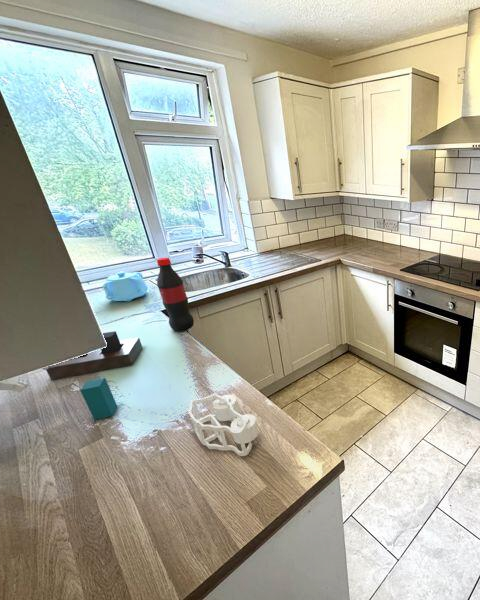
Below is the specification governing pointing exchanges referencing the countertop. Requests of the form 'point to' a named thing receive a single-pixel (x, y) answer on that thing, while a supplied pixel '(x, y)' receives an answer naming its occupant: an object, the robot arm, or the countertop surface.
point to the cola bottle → (174, 296)
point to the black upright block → (111, 342)
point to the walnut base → (98, 361)
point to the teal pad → (99, 398)
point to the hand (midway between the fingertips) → (38, 376)
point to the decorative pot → (124, 286)
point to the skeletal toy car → (224, 410)
